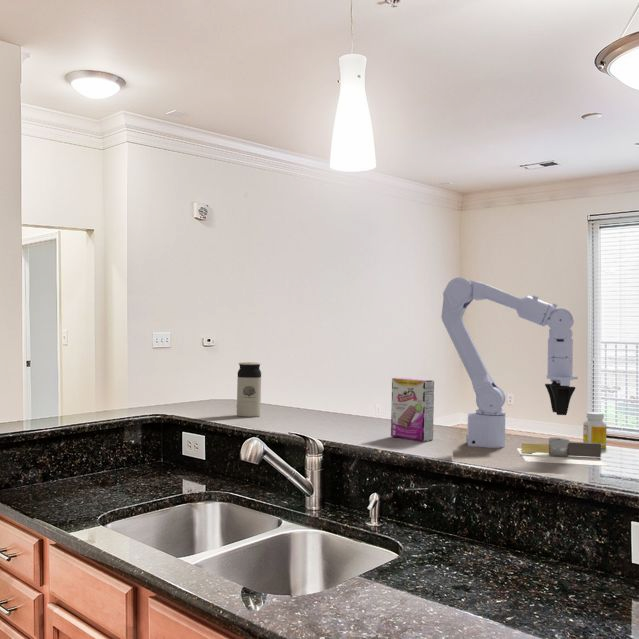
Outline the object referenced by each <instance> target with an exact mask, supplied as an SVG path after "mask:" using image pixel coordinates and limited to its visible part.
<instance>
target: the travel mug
mask: <svg viewBox="0 0 639 639" xmlns="http://www.w3.org/2000/svg"><path fill="white" fill-rule="evenodd" d="M238 365H239V369H238V371H237V381H236V383H237V387H236V388H237V390H236V416H238V417H241V418H257V417H260V415H261V406H262V405H261V403H262V402H261V398H262V372H261V369H260V366H261V362H253V361H252V362H249V361H248V362H247V361H246V362H245V361H244V362H243V361H240V362H238Z"/></svg>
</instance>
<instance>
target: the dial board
mask: <svg viewBox="0 0 639 639" xmlns="http://www.w3.org/2000/svg"><path fill="white" fill-rule="evenodd" d="M515 449H516V451H518V453H519V454H520V456H521V457H522V459H523V460H524V461H525V462H526V463H528V462H529V463H549V464H564V465H565V464H567V465H582V466H583V465H587V466H589V465H590V466H604V467H605V466H606V467H607V466H609V465H608V464H607V463H606V462H604V461H602V460H601V459H599V457H585V456H553V455H549V453H539V452H522V447H521V448H520V447H518V448H515Z"/></svg>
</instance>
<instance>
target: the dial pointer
mask: <svg viewBox="0 0 639 639" xmlns="http://www.w3.org/2000/svg"><path fill="white" fill-rule="evenodd" d="M521 449H522V452H539V453H549V455H553V456H585V457H597V458H602V457H601V456H602V449H601V444H600V443H586V442H583V441H570V439H569V438H565V437H548V443H536V442H535V443H534V442H533V443H532V442H521Z"/></svg>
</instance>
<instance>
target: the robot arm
mask: <svg viewBox="0 0 639 639" xmlns="http://www.w3.org/2000/svg"><path fill="white" fill-rule="evenodd" d="M442 296H443V298H442V299H443V300H442V306H441V307H442V308H441V315H440V316H441V317H440V318H441V321H442V323H443V325H444V327H445V329H446V331H447V333H448V336H449V337H450V339H451V342H452V344H453V346H454V348H455V350H456V352H457V354H458V357H459V358H460V360H461V363H462V364H463V366H464V369H465V371H466V373H467V375H468V377H469V378H470V381H471V384H472V389H473V391H474V393H475V403H476V404H475V405H476V406H477V409H476V410H475V413H474V412H468V414H467V426H466V428H467V432H466V433H467V434H466V437H465V438H466V439H465V441H466V442H465V443H467V445H468V447H479V448H480V447H481V448H493V449H498V448H500V449H501V448H504V447H506V411H504V410H503V406H504V405H505V402H506V395H505V393H504V390H502V388H500V387H499V386H498V385H497V384H496V383H495V380H494V379H493V377H492V376H491V374H490V373H489V371H488V369H487V367H486V365H485V363H484V360H483V359H482V357H481V354H480V353H479V350H478V349H477V346H476V344H475V342H474V341H473V339H472V336H471V334H470V332H469V331H468V327H467V326H466V324H465V321H464V320H463V317H464V314H465V312H466V310H467V307H469V305H471V303H472V302H473V301H474V300H475V301H483V300H488V301H491V302H495V303H497V304H499V305H502V306H505V307H507V308H510V309H513V310H516V313H517V315H518V317H519V318H521V319H524V320H526V321H529V322H531V323H534V324H537V325H538V326H542V327H545V326H548V327H549V329H548V332H549V333H548V339H547V375H546V379H548V380H550V381H549V382H551V383H545V384H544V386H545V388H546V390H547V392H548V396H549V400H550V401H549V402H550V405H551V411H552V413H556V415H557V416H567V413H568V410H569V408H570V402H571V398H572V397H573V394H574V392H575V390H576V387H575V386H571V381H573V380H579V379H578V378H579V377H578V376H576V375H573V368H574V367H573V365H574V364H573V361H574V360H573V355H574V354H573V352H574V351H573V350H574V346H573V345H574V340H573V331H572V328H573V325H574V324H575V323H574V321H575V319H574V317H573V314H572V313H571V312H570V311H569V310H568V309H565V308H557V306H558V304H557V303H552V304H551V303H549V302H545V301H544V300H541V299H539V296H537V295H535V294H533V295H532V296H531V295H525V296H524V297H522V298H521V297H518V296H516V295H513V294H511V293H510V292H509V293H508V292H506V291H504V290H501V289H499V288H497V287H494V286H493V285H489V284H486V283H484V282H480V281H476V280H472V279H469V280H467V279H466V278H464V277H461V276H460V277H458V276H457V277H455V278H452V279H451V280H450V281H448V283H447V285H446V287H445V288H444V291H443V292H442Z"/></svg>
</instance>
